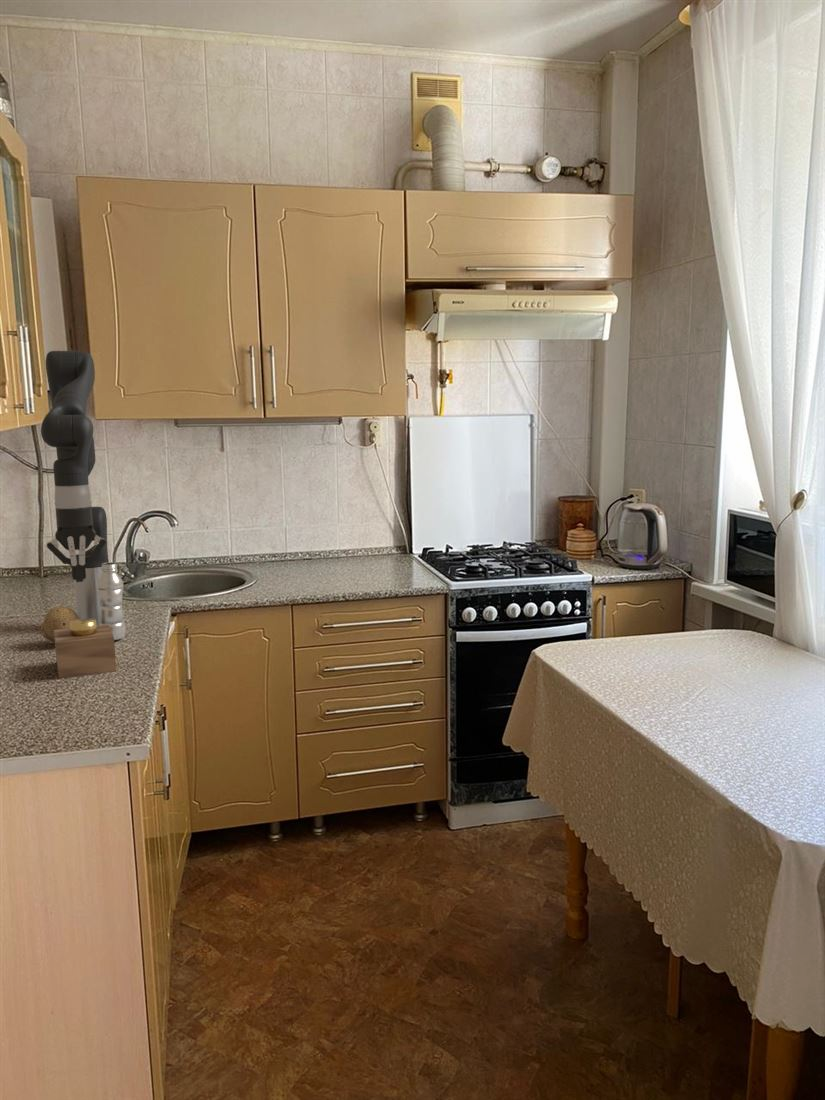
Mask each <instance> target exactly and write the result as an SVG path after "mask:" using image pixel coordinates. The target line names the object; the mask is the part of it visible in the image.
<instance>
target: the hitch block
mask: <svg viewBox="0 0 825 1100" xmlns="http://www.w3.org/2000/svg"><path fill="white" fill-rule="evenodd" d="M96 627H97V633H95V634H93V635H89V636H71V632H70V629H61V630H54V636H55V643H54V646H55V659H56V666H57V674H58V679H65V677H66V678H73V676H74V677H81V675H82V676H88V675H89V676H90V675H95V674H104V673H112V672H117V664H116V663H117V661H116V650H115V649H116V647H115V646H116V645H115V640H114V636H113V634H112V631H111V629H110V627H109V624H107V625H98V626H96Z"/></svg>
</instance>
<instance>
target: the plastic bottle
mask: <svg viewBox="0 0 825 1100" xmlns="http://www.w3.org/2000/svg"><path fill="white" fill-rule="evenodd" d="M102 572H103V574H102V575H101V577H100V578H99V580H98V583H97V588H98V593H99V598H100V605H101V606H100V607H101V617H100V625H107V624H109V627H110V629H111V631H112V634H113V636H114V641H117V640H121V639H123V638H124V637H125V635H126V632H127V631H126V623H125V620H124V614H123V594H124V582H123V579H122V577H121V576H120V575H119V574H118V573H117V572H118V566H117V562H109V563H103V564H102Z"/></svg>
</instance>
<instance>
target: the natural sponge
mask: <svg viewBox="0 0 825 1100" xmlns="http://www.w3.org/2000/svg"><path fill="white" fill-rule="evenodd" d="M78 619H79V618H78V616H77V613H76V611H75V610H73V609H72V608H71V607H68V606H64V605H62V606H61V605H59V606H55V607H54V608H51V609H50V610H49V611H48V612H47V614H46V615H45V617H44V619H43V622H42V624H41V627H40V634H41V636H42V638H44V639H46V640H48V641H50V642H52V643H54V644H55V636H54V630H61V629H70V622H71V621H73V620H78Z"/></svg>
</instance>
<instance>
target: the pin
mask: <svg viewBox="0 0 825 1100" xmlns="http://www.w3.org/2000/svg"><path fill="white" fill-rule="evenodd" d="M70 632H71V636H89V635H93V634H95V633H97V627H96V620H95V619H78V620H73V621H71V622H70Z"/></svg>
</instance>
